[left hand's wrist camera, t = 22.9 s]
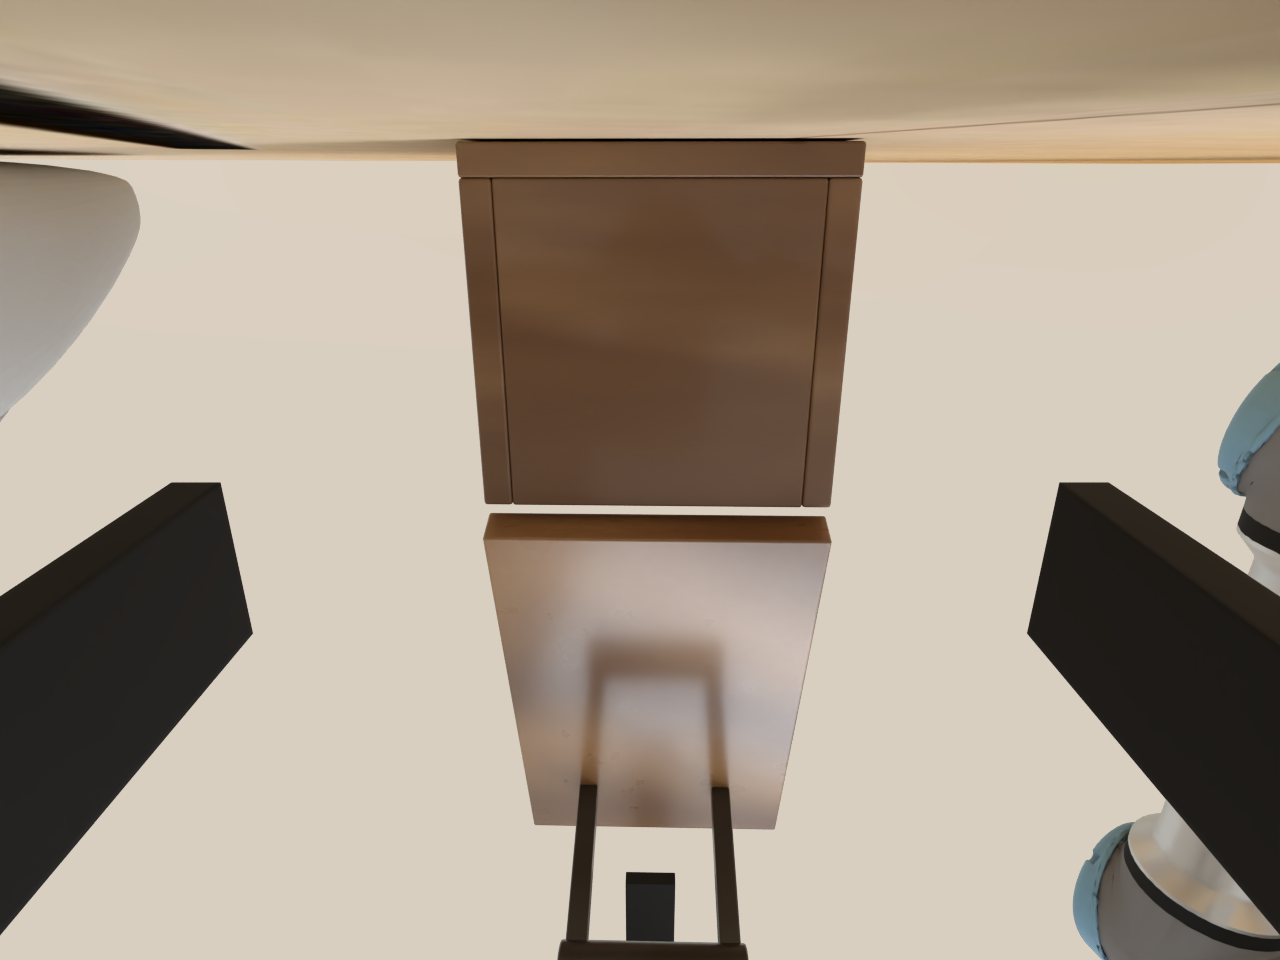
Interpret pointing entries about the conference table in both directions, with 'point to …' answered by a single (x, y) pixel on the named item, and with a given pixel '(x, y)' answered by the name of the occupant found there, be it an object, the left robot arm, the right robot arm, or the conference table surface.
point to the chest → (659, 318)
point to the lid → (656, 681)
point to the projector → (55, 263)
